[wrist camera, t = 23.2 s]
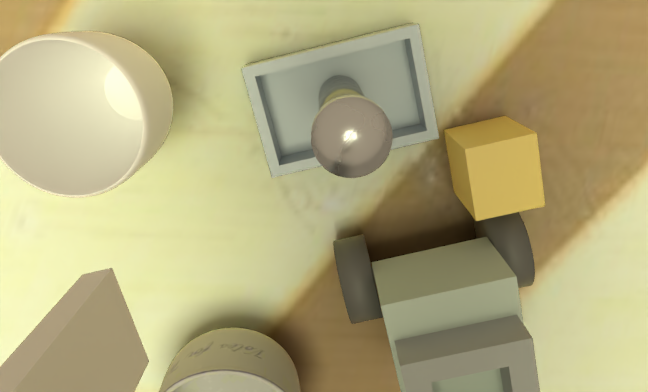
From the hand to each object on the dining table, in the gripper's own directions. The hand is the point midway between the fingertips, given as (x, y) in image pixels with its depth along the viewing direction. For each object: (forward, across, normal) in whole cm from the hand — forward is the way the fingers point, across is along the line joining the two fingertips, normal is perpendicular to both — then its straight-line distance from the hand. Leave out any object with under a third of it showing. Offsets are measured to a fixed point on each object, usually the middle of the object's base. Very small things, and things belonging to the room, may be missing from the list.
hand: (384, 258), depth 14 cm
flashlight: (+26, 0, 0) cm, 26 cm away
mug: (+27, -16, +4) cm, 31 cm away
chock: (+27, +9, -6) cm, 29 cm away
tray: (+27, 0, 0) cm, 27 cm away
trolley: (+27, +4, -16) cm, 31 cm away
